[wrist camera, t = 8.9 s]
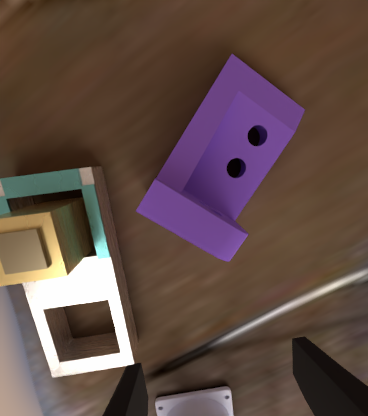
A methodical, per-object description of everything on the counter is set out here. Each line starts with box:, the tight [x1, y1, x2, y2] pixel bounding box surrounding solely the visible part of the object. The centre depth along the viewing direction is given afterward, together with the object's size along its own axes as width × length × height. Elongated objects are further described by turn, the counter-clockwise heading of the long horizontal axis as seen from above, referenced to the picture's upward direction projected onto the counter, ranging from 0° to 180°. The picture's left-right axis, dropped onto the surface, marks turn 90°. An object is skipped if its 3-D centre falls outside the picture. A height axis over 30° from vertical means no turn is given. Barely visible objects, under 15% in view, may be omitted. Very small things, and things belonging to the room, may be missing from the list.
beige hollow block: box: [0, 197, 95, 286], centre depth 15 cm, size 4×4×6 cm
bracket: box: [136, 54, 305, 261], centre depth 15 cm, size 12×7×7 cm, turn 148°
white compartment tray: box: [0, 166, 138, 377], centre depth 18 cm, size 17×7×3 cm, turn 7°
